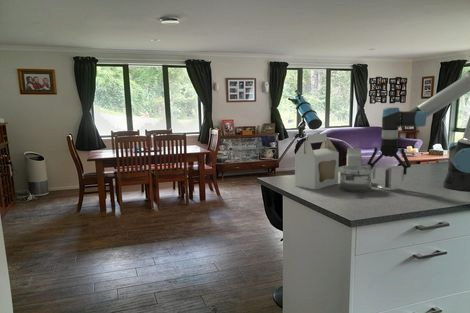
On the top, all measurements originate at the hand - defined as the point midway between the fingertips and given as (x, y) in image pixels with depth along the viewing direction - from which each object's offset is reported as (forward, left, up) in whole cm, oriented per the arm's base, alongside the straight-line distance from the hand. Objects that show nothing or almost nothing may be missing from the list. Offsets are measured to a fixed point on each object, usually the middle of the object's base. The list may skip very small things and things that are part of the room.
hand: (387, 179), depth 176 cm
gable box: (+35, +8, -5) cm, 36 cm away
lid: (0, 0, -5) cm, 5 cm away
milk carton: (+20, -10, -5) cm, 23 cm away
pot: (+14, +12, -5) cm, 19 cm away
